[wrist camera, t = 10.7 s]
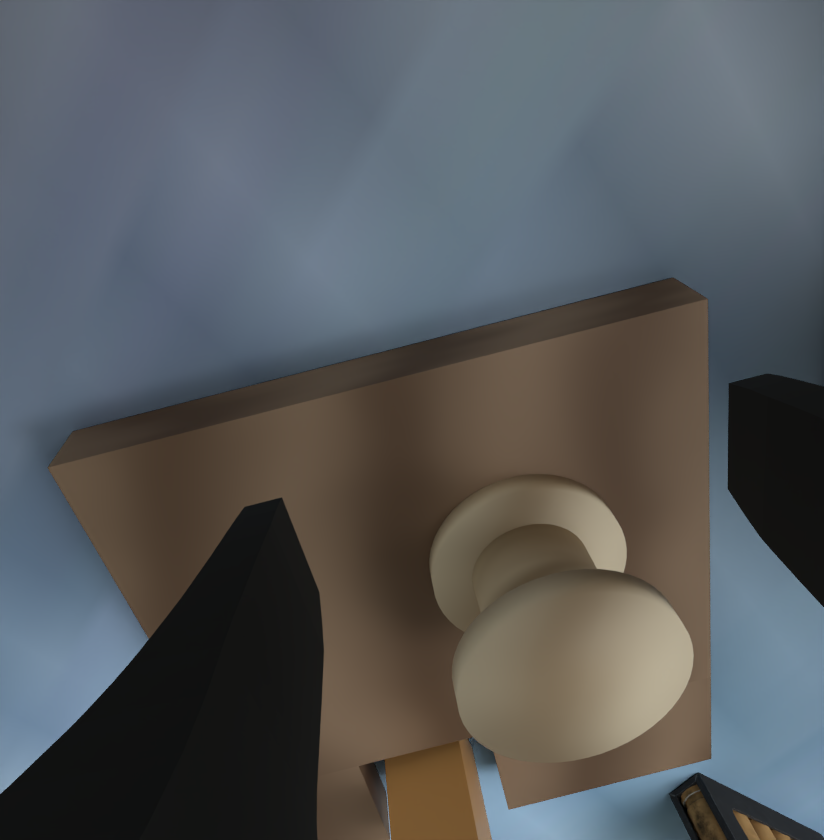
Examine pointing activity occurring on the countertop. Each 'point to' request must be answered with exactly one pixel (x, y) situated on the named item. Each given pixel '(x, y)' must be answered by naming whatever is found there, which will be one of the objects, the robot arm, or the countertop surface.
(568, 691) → the mushroom shaped handle
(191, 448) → the notched board
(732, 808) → the ammunition clip
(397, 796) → the block
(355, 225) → the countertop surface
